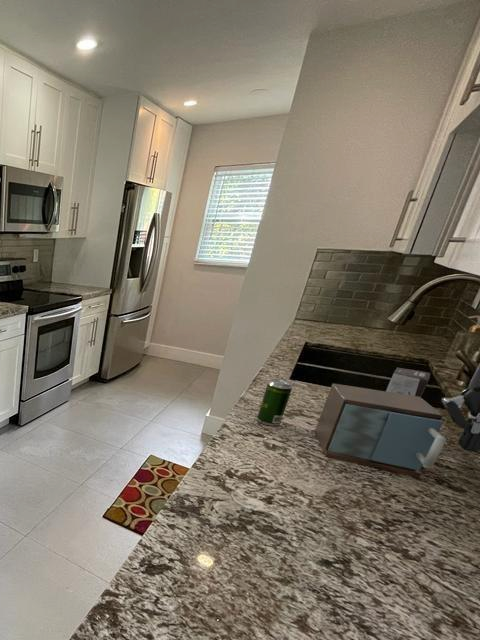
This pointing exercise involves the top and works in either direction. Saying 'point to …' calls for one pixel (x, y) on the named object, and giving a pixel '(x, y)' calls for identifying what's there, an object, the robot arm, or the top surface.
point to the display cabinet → (364, 423)
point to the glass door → (409, 441)
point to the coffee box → (408, 382)
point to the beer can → (274, 402)
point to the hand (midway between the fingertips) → (468, 449)
